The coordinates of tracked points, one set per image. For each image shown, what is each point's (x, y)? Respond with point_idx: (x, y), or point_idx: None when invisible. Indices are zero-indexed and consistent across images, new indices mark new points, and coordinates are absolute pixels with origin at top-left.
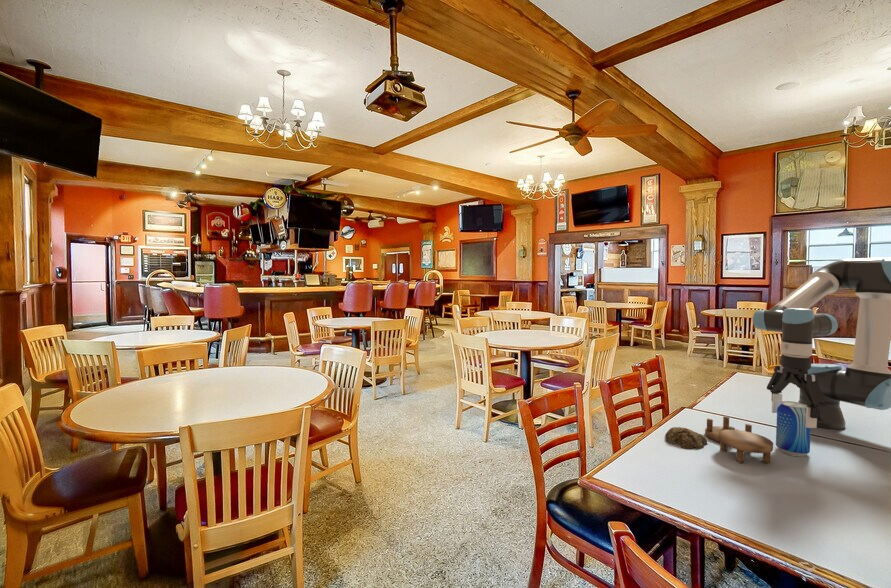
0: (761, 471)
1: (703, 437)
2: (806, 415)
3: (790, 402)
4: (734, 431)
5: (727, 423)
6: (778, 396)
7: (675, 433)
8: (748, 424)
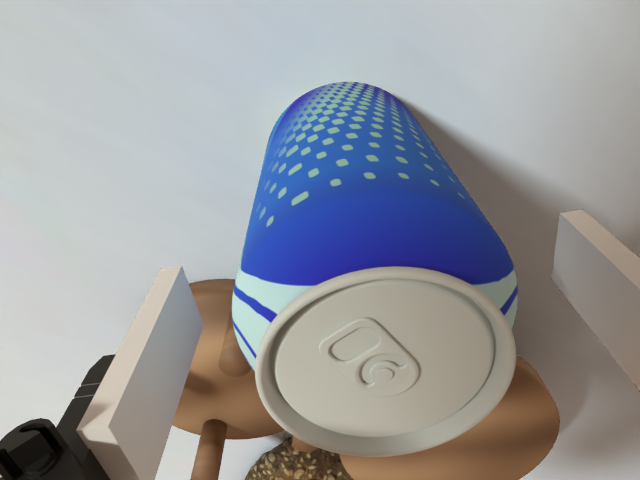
0: (556, 370)
1: (315, 466)
2: (618, 352)
3: (268, 353)
4: None
5: None
6: (139, 434)
7: None
8: (226, 363)
